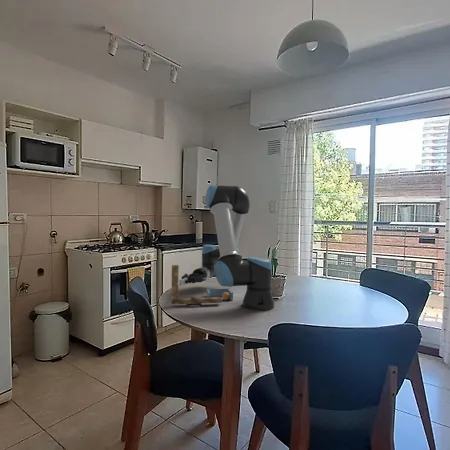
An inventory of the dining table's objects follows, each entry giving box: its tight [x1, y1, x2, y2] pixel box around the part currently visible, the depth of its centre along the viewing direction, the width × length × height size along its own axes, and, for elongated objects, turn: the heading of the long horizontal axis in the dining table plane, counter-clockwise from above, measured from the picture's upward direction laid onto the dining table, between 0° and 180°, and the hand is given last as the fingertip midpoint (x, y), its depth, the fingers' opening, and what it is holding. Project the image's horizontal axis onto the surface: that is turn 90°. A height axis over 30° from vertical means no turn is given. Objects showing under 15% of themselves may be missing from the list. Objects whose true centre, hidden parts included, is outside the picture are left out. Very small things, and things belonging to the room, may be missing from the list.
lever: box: [170, 264, 222, 305], centre depth 163 cm, size 24×3×18 cm, turn 101°
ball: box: [221, 292, 230, 301], centre depth 174 cm, size 4×4×4 cm
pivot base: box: [185, 303, 202, 308], centre depth 163 cm, size 7×7×1 cm
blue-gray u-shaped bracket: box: [205, 287, 234, 301], centre depth 177 cm, size 10×12×4 cm
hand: (180, 282), depth 170 cm, fingers closed
